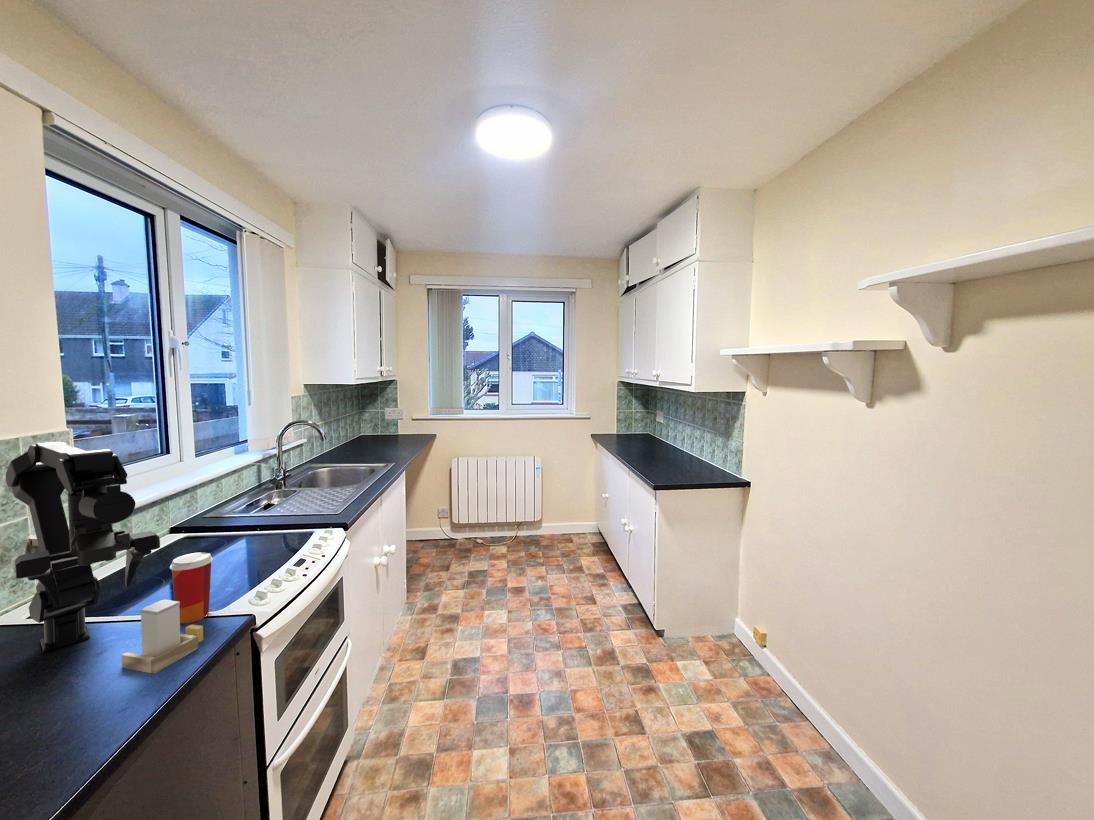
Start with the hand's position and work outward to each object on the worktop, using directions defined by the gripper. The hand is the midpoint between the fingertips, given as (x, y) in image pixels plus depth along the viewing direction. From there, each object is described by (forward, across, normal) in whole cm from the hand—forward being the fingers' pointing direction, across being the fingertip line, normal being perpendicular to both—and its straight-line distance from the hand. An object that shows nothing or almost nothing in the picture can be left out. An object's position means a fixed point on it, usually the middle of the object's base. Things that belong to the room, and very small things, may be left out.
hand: (94, 595), depth 83 cm
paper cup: (+13, +16, +5) cm, 21 cm away
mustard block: (+13, +14, -7) cm, 20 cm away
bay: (+13, +8, -9) cm, 17 cm away
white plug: (+13, +8, -9) cm, 17 cm away
